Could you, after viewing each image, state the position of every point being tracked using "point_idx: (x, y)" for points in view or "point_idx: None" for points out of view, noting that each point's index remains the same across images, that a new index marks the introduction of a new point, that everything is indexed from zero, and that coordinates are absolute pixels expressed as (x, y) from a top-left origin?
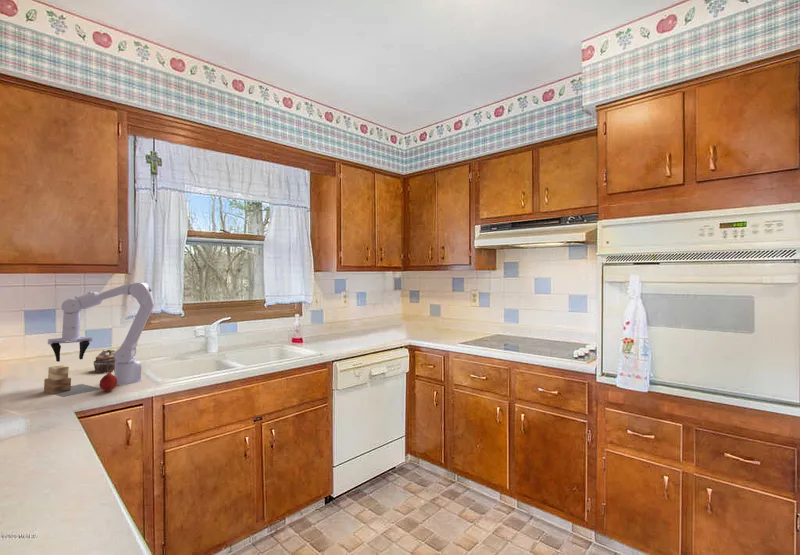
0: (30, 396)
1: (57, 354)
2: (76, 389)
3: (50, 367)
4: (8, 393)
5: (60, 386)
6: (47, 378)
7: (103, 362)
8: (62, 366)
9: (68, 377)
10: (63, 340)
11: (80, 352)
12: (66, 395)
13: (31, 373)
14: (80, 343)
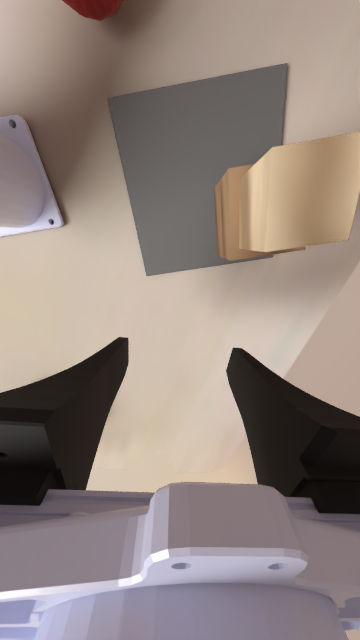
0: None
1: (271, 373)
2: (191, 191)
3: (349, 221)
4: (319, 315)
5: None
6: (293, 250)
7: None
8: (290, 198)
9: (230, 196)
10: (351, 547)
11: (112, 384)
12: (265, 89)
13: (188, 460)
14: (78, 479)
